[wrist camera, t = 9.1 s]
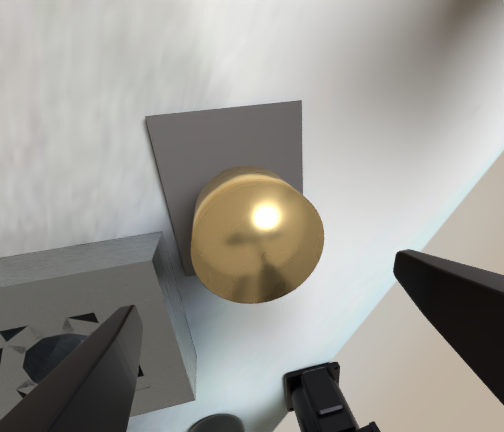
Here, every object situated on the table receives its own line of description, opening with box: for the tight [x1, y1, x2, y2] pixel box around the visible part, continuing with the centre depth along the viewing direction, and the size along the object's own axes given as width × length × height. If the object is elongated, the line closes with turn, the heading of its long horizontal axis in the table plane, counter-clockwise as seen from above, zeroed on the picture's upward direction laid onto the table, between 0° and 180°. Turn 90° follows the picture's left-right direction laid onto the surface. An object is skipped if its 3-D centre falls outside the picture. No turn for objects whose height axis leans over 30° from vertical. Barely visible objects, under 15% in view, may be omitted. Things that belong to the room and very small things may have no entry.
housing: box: [0, 232, 197, 420], centre depth 18 cm, size 14×14×4 cm
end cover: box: [191, 165, 324, 304], centre depth 14 cm, size 6×6×8 cm
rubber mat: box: [145, 100, 303, 276], centre depth 18 cm, size 12×10×1 cm
